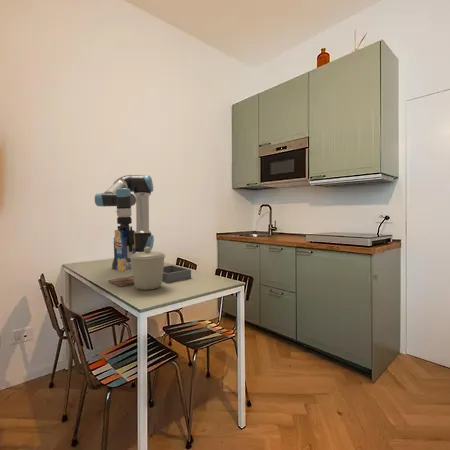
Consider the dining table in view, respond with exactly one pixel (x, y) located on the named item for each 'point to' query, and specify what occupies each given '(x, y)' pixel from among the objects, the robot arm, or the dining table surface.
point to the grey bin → (175, 273)
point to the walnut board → (122, 281)
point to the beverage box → (122, 251)
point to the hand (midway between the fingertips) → (125, 256)
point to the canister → (147, 269)
